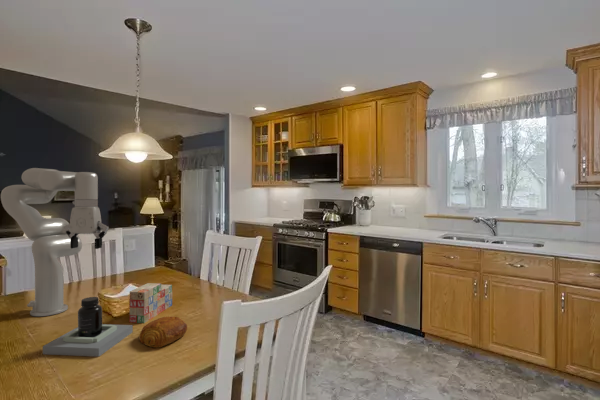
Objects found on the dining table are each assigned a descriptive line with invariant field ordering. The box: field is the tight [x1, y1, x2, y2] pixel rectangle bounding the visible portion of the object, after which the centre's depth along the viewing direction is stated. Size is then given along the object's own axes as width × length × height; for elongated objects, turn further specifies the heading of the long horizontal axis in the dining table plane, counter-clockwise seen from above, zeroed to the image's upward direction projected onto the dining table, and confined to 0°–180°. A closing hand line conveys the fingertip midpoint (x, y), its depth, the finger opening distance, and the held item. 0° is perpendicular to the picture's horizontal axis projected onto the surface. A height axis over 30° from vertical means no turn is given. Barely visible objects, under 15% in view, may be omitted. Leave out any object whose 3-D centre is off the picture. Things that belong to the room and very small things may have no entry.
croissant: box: [139, 316, 188, 349], centre depth 114 cm, size 14×16×8 cm
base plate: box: [42, 323, 134, 357], centre depth 110 cm, size 18×18×4 cm
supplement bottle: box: [77, 296, 103, 337], centre depth 110 cm, size 7×7×12 cm
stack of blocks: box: [128, 282, 173, 324], centre depth 137 cm, size 21×6×12 cm, turn 173°
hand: (86, 248), depth 129 cm, fingers open, 9 cm apart
